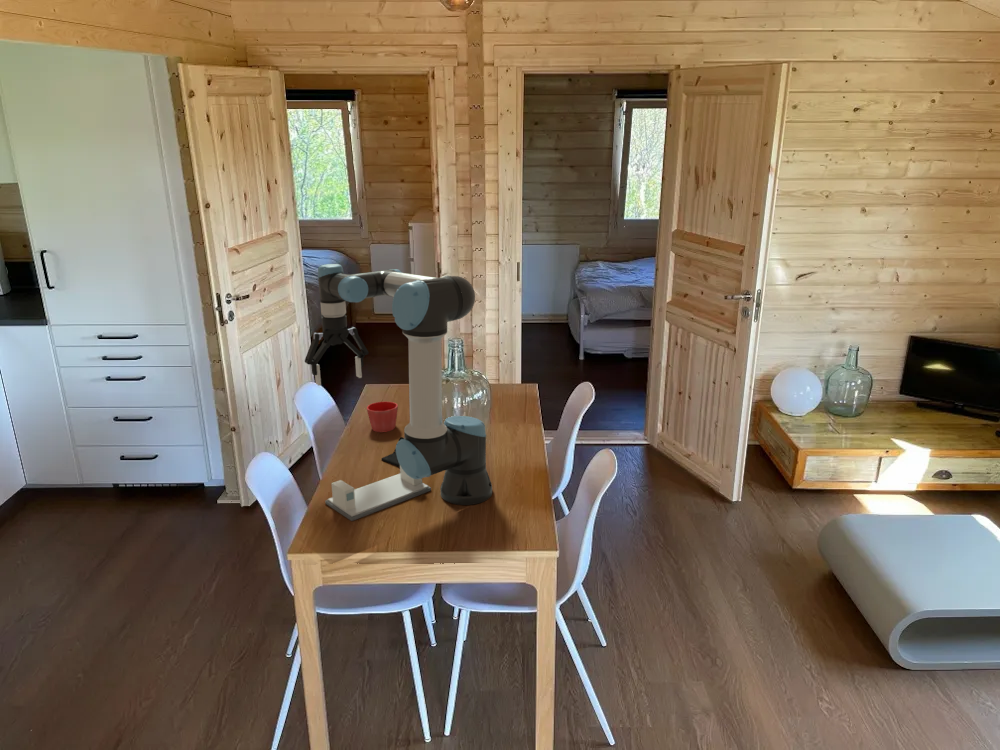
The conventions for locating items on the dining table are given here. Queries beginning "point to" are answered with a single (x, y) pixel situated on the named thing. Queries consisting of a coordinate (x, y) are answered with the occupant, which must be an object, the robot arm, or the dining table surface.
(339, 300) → the robot arm
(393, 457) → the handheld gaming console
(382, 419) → the flower pot
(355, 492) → the board
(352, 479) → the dining table surface
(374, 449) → the dining table surface
